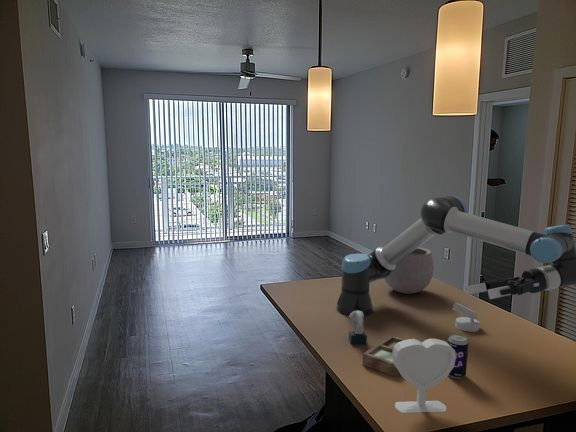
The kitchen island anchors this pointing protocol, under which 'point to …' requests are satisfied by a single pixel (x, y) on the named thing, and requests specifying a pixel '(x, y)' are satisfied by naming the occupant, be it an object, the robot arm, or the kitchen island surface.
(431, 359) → the heart sculpture
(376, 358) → the brown divided tray
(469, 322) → the wall hook
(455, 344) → the beverage can
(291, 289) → the kitchen island surface
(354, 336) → the watch
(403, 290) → the plant pot
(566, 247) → the robot arm
